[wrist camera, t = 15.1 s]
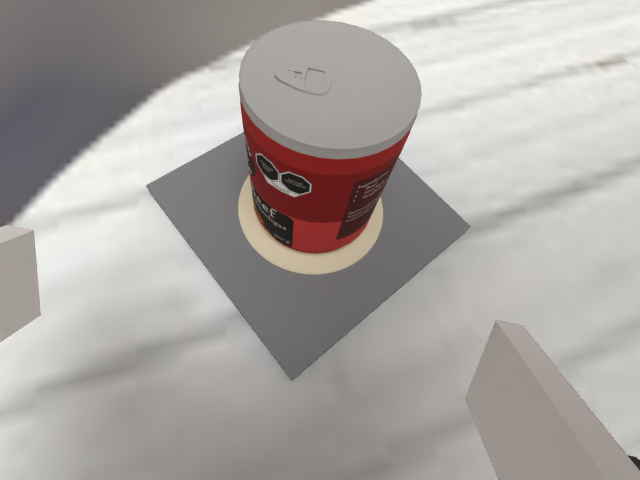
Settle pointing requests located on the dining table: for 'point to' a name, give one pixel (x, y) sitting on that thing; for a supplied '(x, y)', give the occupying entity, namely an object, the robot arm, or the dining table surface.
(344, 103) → the canned food
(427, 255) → the mat
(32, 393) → the dining table surface
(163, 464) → the dining table surface
